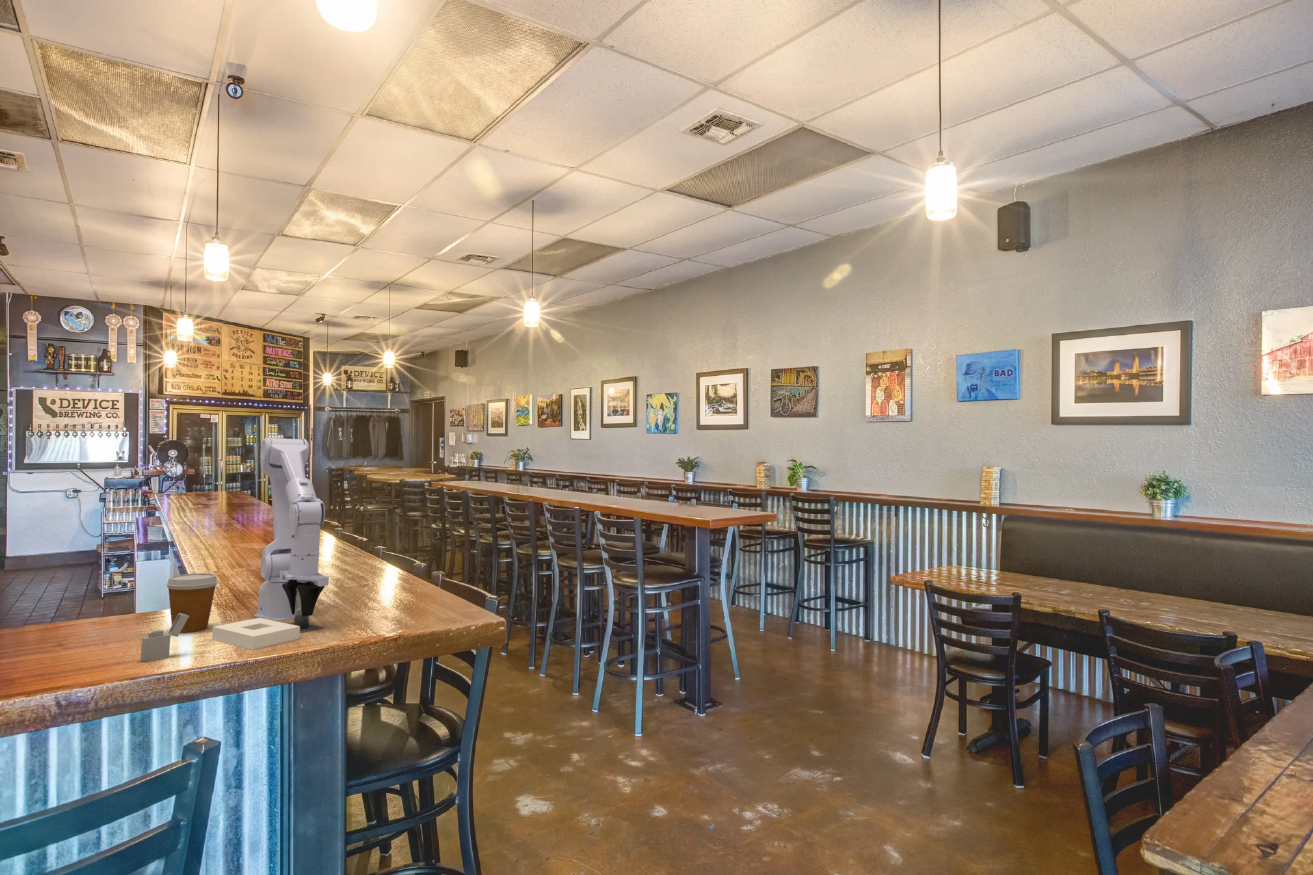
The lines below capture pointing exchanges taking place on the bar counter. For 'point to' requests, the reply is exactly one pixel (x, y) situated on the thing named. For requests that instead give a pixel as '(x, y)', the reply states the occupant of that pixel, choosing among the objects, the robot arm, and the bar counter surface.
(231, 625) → the block
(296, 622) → the peg
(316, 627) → the mat
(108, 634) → the bar counter surface
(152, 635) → the lighter
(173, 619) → the disposable coffee cup
